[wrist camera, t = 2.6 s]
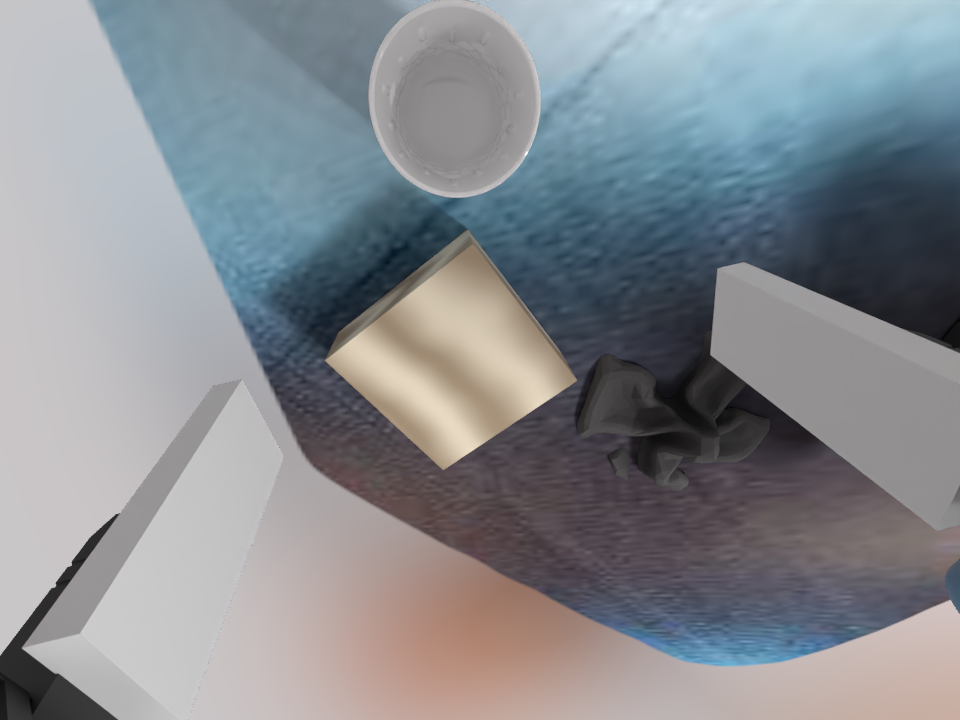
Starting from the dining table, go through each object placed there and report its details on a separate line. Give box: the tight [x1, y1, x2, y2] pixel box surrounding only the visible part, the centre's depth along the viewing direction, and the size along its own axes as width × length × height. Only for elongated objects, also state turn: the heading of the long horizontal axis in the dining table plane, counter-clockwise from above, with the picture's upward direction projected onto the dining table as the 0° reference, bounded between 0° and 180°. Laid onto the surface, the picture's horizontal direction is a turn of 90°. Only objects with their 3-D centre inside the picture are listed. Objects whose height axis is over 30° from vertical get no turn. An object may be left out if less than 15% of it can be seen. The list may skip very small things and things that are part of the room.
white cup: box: [368, 0, 541, 198], centre depth 25 cm, size 8×8×10 cm
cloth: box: [577, 330, 771, 492], centre depth 41 cm, size 22×19×6 cm
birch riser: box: [325, 229, 577, 470], centre depth 34 cm, size 13×13×5 cm
